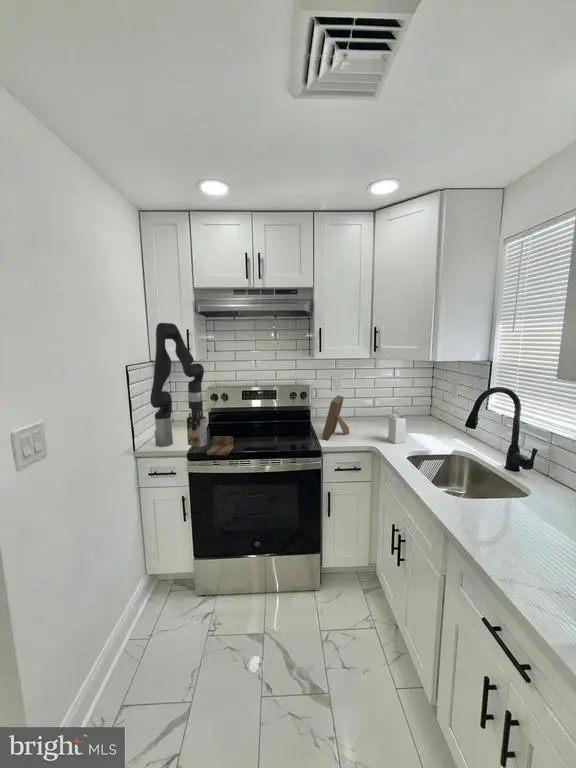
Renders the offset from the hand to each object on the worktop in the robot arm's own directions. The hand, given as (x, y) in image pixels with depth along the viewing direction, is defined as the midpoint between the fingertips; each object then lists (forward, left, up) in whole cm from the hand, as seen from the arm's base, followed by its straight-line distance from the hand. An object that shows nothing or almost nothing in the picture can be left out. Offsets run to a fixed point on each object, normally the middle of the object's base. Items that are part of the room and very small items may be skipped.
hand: (196, 428), depth 183 cm
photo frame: (+79, +38, -15) cm, 89 cm away
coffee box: (0, 0, -10) cm, 10 cm away
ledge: (+11, +5, -15) cm, 19 cm away
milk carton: (+115, +28, -15) cm, 120 cm away
